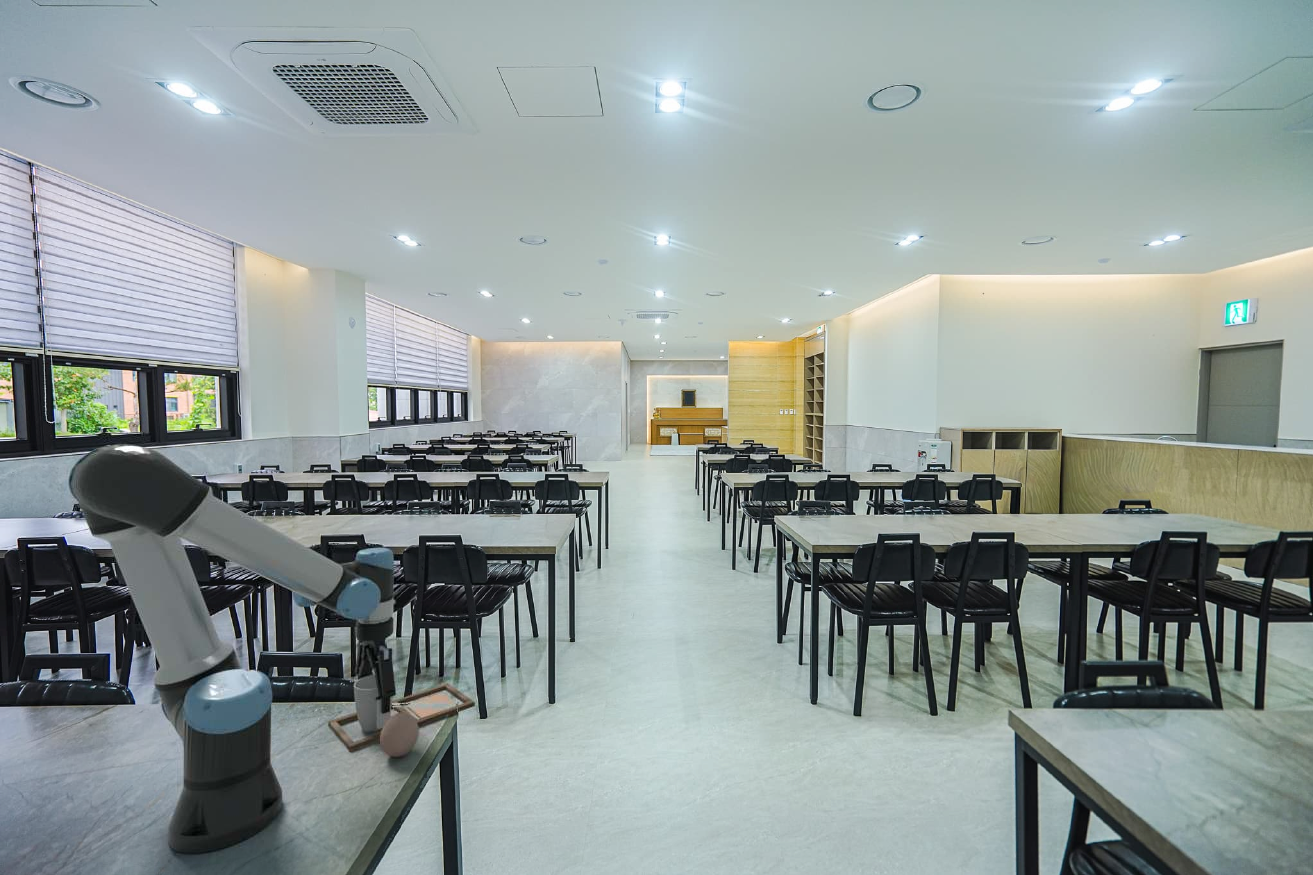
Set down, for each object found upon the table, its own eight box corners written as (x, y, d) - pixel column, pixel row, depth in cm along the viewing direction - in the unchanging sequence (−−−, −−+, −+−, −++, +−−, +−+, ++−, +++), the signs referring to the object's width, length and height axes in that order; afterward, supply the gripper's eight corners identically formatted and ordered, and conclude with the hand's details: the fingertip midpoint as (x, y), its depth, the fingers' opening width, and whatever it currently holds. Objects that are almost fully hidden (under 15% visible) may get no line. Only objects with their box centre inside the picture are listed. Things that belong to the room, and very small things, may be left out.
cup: (401, 723, 126) (402, 679, 126) (366, 739, 119) (367, 692, 119) (380, 713, 131) (381, 670, 131) (346, 728, 124) (346, 683, 124)
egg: (417, 760, 112) (417, 719, 112) (377, 767, 109) (378, 725, 109) (419, 742, 118) (419, 703, 118) (382, 748, 116) (382, 708, 116)
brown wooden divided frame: (474, 706, 134) (474, 701, 134) (349, 751, 115) (349, 746, 115) (447, 686, 145) (447, 683, 145) (328, 725, 125) (328, 721, 125)
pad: (458, 706, 134) (458, 704, 134) (421, 719, 128) (421, 717, 128) (442, 693, 141) (442, 692, 141) (405, 705, 134) (405, 704, 134)
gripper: (413, 627, 120) (412, 729, 120) (374, 603, 136) (373, 694, 136) (376, 635, 114) (375, 743, 114) (339, 610, 130) (339, 704, 130)
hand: (374, 716), depth 125 cm, fingers open, 11 cm apart
